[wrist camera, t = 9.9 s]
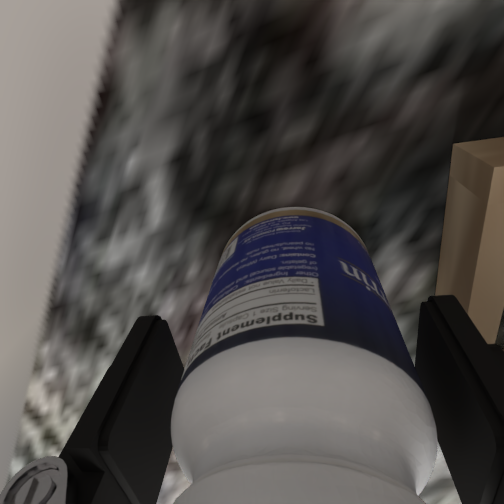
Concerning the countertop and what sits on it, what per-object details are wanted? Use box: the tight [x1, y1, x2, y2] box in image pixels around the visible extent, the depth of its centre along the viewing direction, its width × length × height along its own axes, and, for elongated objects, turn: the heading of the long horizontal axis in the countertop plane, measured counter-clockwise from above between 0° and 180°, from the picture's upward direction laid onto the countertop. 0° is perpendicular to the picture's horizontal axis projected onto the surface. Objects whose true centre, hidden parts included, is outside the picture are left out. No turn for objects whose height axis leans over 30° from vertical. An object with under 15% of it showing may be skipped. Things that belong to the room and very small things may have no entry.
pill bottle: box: [171, 207, 438, 504], centre depth 9 cm, size 6×6×10 cm
